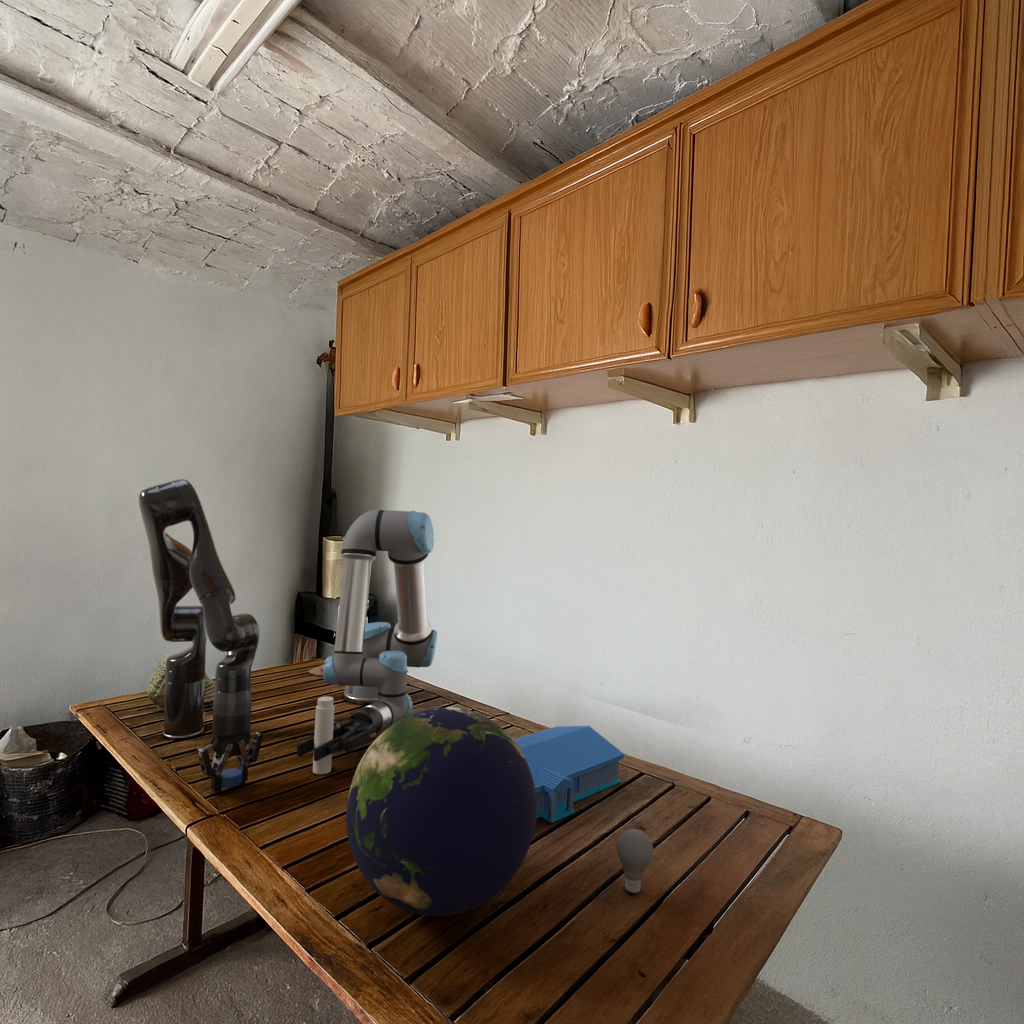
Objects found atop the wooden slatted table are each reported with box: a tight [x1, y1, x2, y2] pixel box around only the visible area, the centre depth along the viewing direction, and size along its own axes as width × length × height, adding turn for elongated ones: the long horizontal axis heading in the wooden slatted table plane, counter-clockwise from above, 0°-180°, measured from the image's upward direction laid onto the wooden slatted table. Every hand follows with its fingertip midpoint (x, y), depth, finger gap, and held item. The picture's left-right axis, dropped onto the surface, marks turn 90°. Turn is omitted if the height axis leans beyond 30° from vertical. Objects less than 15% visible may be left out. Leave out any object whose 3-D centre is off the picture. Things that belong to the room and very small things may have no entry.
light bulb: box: [615, 828, 654, 894], centre depth 106 cm, size 6×6×10 cm
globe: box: [345, 706, 537, 918], centre depth 101 cm, size 30×30×30 cm
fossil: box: [147, 654, 215, 712], centre depth 185 cm, size 9×18×15 cm, turn 132°
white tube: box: [312, 695, 335, 775], centre depth 146 cm, size 4×4×17 cm
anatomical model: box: [308, 664, 324, 677], centre depth 227 cm, size 13×4×12 cm
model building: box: [513, 725, 625, 824], centre depth 140 cm, size 39×24×10 cm, turn 132°
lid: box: [221, 767, 242, 789], centre depth 135 cm, size 5×5×2 cm
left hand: (229, 787), depth 135 cm, fingers closed on lid, 4 cm apart
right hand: (307, 752), depth 141 cm, fingers closed on white tube, 4 cm apart
